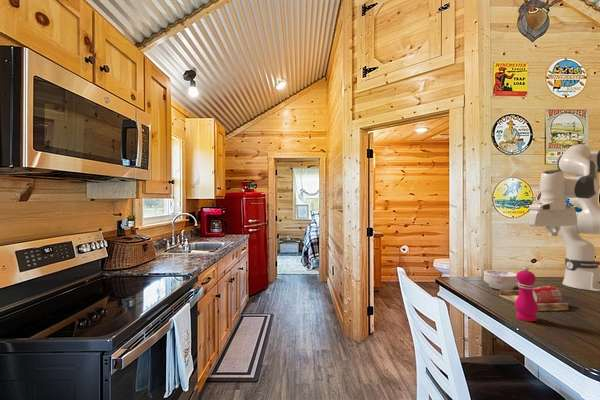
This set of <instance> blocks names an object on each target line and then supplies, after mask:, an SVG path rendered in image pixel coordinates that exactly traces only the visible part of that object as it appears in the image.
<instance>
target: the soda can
mask: <svg viewBox="0 0 600 400" xmlns="http://www.w3.org/2000/svg"><path fill="white" fill-rule="evenodd" d="M533 296H534V299H535V301H536V303H537V304H540V303H560V302H561V300H562V296H563V295H562V293H561V291H560V289H558V288H557V287H555V286H553V285H547V286H537V287H535V286H534V289H533Z"/></svg>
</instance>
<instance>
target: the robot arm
mask: <svg viewBox="0 0 600 400" xmlns="http://www.w3.org/2000/svg"><path fill="white" fill-rule="evenodd" d="M556 167H557V169H549V170H545V171H542V172H541V174H540V179H539V180H540V182H539V192H540V197H539V201H538V202H535V203H533V204H530V205H529V206H528V209H529V210H530V211H529V213H528V224H529V226H530V227H535V228H537V227H538V228H539V227H545V230H546V231H547V232H548V237H558V236H559V235H560V237H561V238H562V240H563V242H564V245H565V255H566V256H565V259H564V264H565V269H564V277H563V280H562V285H564V286H566V287H569V288H574V289H579V290H587V291H594V292H600V268H599V266H600V261H599V260H597V261H596V257H595V256H596V255H595V254H596V253H595V252H596V249H595V245H594V244H593V243H592V242H591V241H588V240H587V239H585V238H582V237H581V235H580V234H591V235H598V234H599V235H600V203H599V194H600V193H599V192H600V177H599V174H600V150H591V149H590V147H588V146H587V145H585V144H581V143H580V144H579V143H577V144H574V145H571V146H570V147H569V148H568V149H566V150H565V151H564V153H563V154H562V155H560V156H559V157H558V158H557V161H556ZM565 174H566V175H568V176H565ZM569 175H570V176H569ZM566 199H569V203H570V205H569V204H568V205H566ZM575 207H576V208H578V209H581V210H582V211H576V208H575Z"/></svg>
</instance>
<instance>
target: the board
mask: <svg viewBox="0 0 600 400" xmlns="http://www.w3.org/2000/svg"><path fill="white" fill-rule="evenodd" d="M498 291H499V292H498V295H499V297H502V298H503V299H506V300H509V301H510V302H513V303H515V302H516V300H517V298H518V296H519V289H512V290H498ZM537 306H538V312H539V311H568V310H569V303H567V302H557V303H540V304H537Z"/></svg>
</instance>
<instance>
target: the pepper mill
mask: <svg viewBox="0 0 600 400" xmlns="http://www.w3.org/2000/svg"><path fill="white" fill-rule="evenodd" d="M516 274H517V275H516V278H517V280H518V281H519V283H518V286H517V287H518V290H519V296H518V298H517V300H516V302H514V309H515V310H516V311H517V312H516V315H515V317H516V319H518V320H520V319H521V320H520V321H523V320H524V321H523V322H527V321H531V322H530V323H533V322H532V321H536V322H537V315H536V314H537V313H538V312H539V311H538V306H537V303H536V301H535V299H534V296H533V289H534V287H535V284H534V283H536V282H537V277H536V275H535V273H534V272H531V271H530V270H529V268H528V266H524V267H523V268H522V270H520V271H518V272H517V273H516Z"/></svg>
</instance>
